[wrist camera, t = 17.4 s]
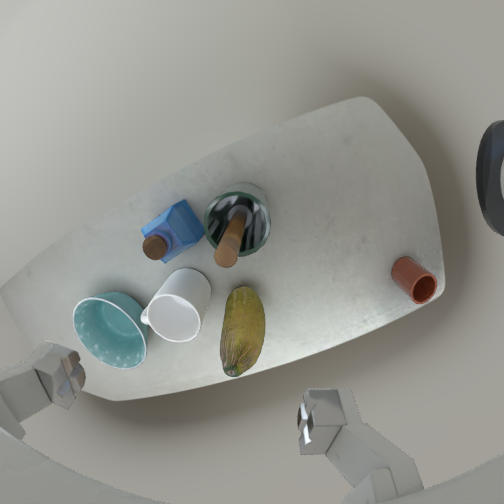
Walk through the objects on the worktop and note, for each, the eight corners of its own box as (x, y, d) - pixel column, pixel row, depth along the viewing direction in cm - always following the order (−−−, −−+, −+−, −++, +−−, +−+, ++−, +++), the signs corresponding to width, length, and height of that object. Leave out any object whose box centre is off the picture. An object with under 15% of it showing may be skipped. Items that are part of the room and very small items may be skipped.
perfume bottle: (184, 199, 43) (158, 213, 31) (206, 230, 44) (187, 256, 33) (155, 219, 44) (123, 240, 32) (176, 250, 45) (151, 279, 34)
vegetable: (250, 270, 46) (243, 345, 27) (272, 297, 48) (278, 379, 29) (222, 290, 48) (201, 369, 29) (245, 315, 49) (237, 399, 30)
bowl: (140, 357, 54) (127, 382, 46) (83, 313, 51) (64, 333, 43) (175, 313, 49) (161, 339, 42) (109, 262, 47) (86, 280, 39)
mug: (162, 318, 50) (144, 350, 40) (142, 280, 48) (118, 308, 38) (219, 302, 48) (210, 336, 38) (200, 260, 46) (185, 287, 36)
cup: (270, 184, 42) (273, 194, 29) (265, 231, 44) (266, 260, 32) (221, 180, 42) (205, 188, 29) (218, 227, 44) (201, 253, 32)
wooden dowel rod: (254, 198, 41) (248, 238, 20) (252, 219, 42) (244, 278, 22) (233, 196, 41) (205, 234, 20) (232, 217, 42) (204, 274, 22)
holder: (418, 258, 44) (440, 274, 37) (411, 284, 46) (431, 304, 39) (395, 255, 44) (416, 272, 37) (388, 283, 46) (406, 303, 39)
